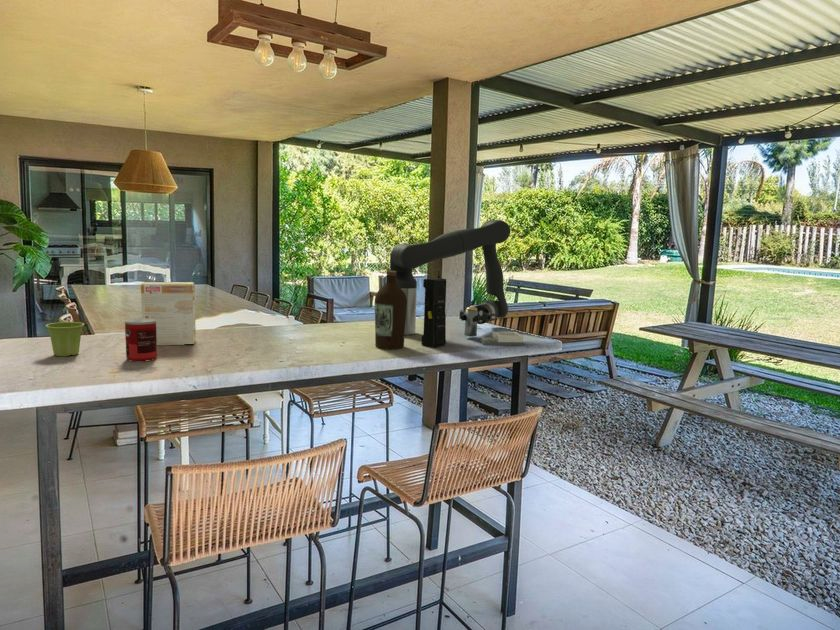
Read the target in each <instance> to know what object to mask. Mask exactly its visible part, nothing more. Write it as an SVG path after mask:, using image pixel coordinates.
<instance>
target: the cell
mask: <svg viewBox="0 0 840 630" xmlns="http://www.w3.org/2000/svg"><path fill="white" fill-rule="evenodd" d="M474 306H475V305H470V306H469V307H466V308H465V320H464V333H463V334H464V336H466V337H477V332H478V331H477V330H478V324H477V322H475V316H476V315H478V310H477V308H474Z"/></svg>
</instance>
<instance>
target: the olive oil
mask: <svg viewBox="0 0 840 630" xmlns="http://www.w3.org/2000/svg"><path fill="white" fill-rule="evenodd" d="M385 278H386V280H385V281H386V282H385V283H384V284H383V286H381V288H379V290H377V292H376V294H375V297H374V322H375V323H374V328H375V329H374V330H375V333H374V334H375V338H374V339H375V341H374V342H375V343H374V344H375V347H376V348H377V349H382V350H399V349H400V350H401V349H403V348H404V347H405V336H406V335H405V321H406V309H407V298H406V294H405V293H404V291H403V290H402V289H401V288H400V287H399V286H398V284H397V282H396V280H397V276H396V271H390V270H387V271H386V277H385Z"/></svg>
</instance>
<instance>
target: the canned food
mask: <svg viewBox="0 0 840 630" xmlns="http://www.w3.org/2000/svg"><path fill="white" fill-rule="evenodd" d="M124 321H125V322H124V324H125V325H124V332H125V333H124V335H125V354H126V355H125V356H126V360H127V359H128V361H129V360H132V361H131V362H134V361H143V362H147V361H146V360H151V361H153V360H152V359H154V360H156V359H157V357H158V350H157V349H158V347H157V346H158V345H157V337H156V320H155V319H149V318H142V317H141V318H140V317H138V318H137V317H135V318H130V319H126V320H124ZM155 358H156V359H155Z"/></svg>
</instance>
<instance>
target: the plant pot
mask: <svg viewBox="0 0 840 630" xmlns="http://www.w3.org/2000/svg"><path fill="white" fill-rule="evenodd" d="M84 326H85V323H83V322H76V321H66V322H65V321H61V322H53V323H47V324H46V325H45V327H46V328H47V331H48V333H49V337H50V338H49V339H50V341H51V347H52V351H53V355H54V356H56V357H69V356H76V354H77V355H79V354H78V353H80V347H81V337H82V331H83V328H84Z"/></svg>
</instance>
